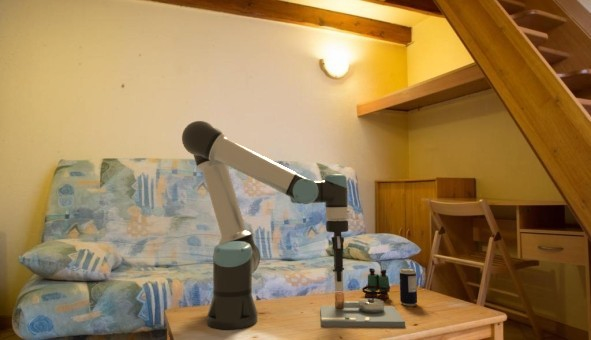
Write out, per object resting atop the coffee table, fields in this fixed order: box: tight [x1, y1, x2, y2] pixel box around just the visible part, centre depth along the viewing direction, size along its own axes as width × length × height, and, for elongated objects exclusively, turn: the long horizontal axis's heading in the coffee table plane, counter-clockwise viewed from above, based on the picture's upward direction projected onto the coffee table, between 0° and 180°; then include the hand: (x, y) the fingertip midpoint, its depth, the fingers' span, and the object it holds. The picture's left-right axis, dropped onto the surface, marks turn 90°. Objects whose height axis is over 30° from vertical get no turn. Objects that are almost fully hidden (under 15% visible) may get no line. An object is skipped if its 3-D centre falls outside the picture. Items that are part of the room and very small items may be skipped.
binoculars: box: [361, 267, 391, 302], centre depth 142 cm, size 9×11×10 cm
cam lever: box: [334, 291, 385, 313], centre depth 122 cm, size 16×8×5 cm, turn 88°
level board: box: [319, 305, 406, 328], centre depth 119 cm, size 24×16×2 cm, turn 88°
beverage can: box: [399, 267, 418, 307], centre depth 134 cm, size 6×6×12 cm
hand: (339, 290), depth 128 cm, fingers closed
